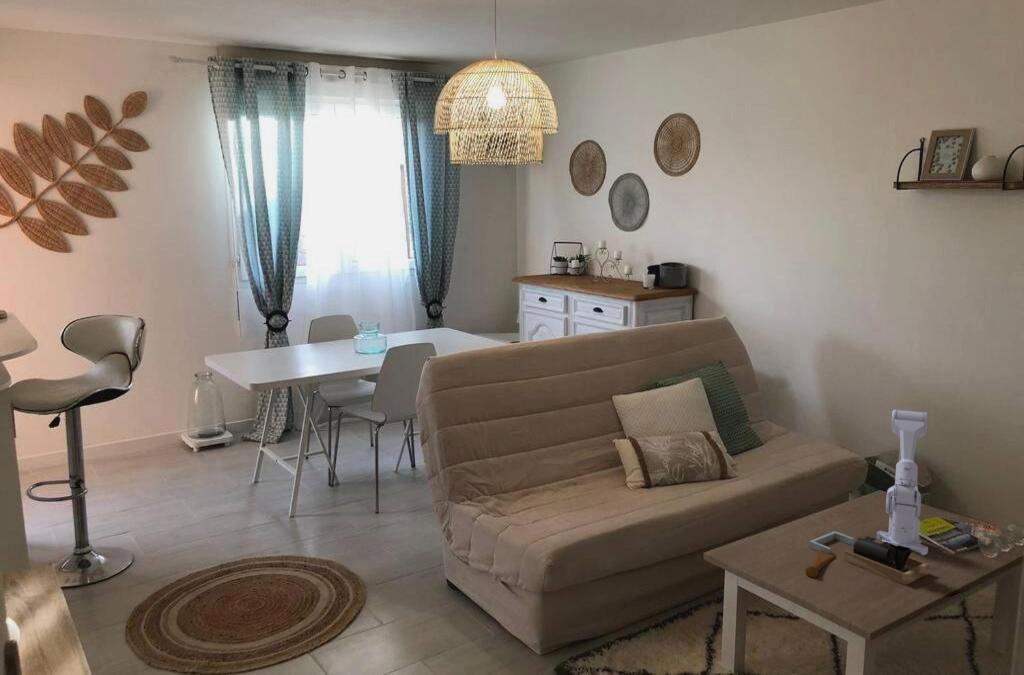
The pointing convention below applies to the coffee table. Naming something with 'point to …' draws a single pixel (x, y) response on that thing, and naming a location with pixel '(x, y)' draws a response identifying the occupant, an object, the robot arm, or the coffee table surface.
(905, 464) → the robot arm
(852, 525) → the coffee table surface
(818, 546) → the frame
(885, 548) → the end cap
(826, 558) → the primitive tool
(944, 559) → the coffee table surface
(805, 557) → the coffee table surface
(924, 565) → the cubby
